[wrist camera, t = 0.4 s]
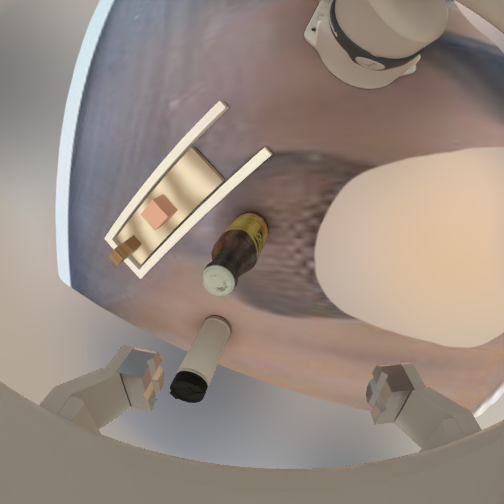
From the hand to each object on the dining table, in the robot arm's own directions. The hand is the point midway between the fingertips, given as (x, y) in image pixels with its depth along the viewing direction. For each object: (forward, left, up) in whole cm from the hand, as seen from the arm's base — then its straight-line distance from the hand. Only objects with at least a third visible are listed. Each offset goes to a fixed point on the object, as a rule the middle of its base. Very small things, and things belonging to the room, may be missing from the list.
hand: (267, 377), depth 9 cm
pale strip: (+11, -23, -39) cm, 46 cm away
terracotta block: (+10, -23, -37) cm, 45 cm away
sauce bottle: (+10, -6, -39) cm, 40 cm away
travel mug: (+35, -9, -39) cm, 53 cm away
